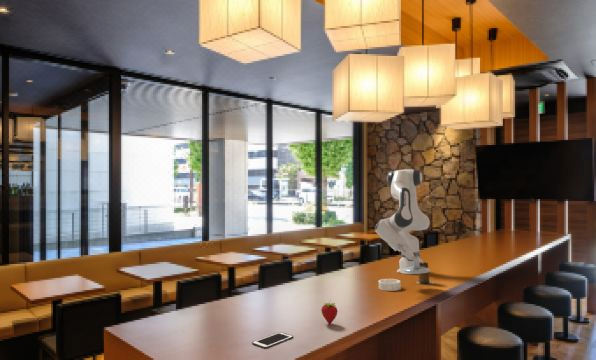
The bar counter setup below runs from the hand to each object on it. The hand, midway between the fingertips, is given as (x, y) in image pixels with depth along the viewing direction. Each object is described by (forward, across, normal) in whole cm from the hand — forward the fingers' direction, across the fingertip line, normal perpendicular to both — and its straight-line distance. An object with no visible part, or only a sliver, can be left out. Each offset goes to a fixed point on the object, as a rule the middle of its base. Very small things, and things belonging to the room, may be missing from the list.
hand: (417, 261), depth 221 cm
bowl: (0, 0, +22) cm, 22 cm away
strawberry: (-18, -66, +39) cm, 79 cm away
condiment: (+14, +15, +8) cm, 22 cm away
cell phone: (-31, -88, +51) cm, 107 cm away
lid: (+3, 0, +4) cm, 5 cm away
